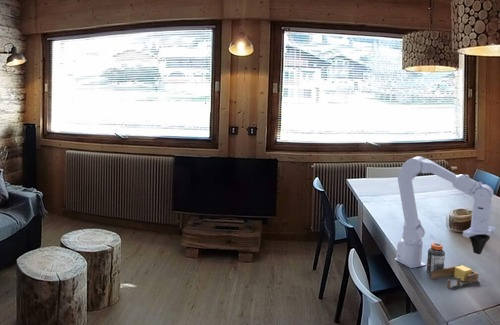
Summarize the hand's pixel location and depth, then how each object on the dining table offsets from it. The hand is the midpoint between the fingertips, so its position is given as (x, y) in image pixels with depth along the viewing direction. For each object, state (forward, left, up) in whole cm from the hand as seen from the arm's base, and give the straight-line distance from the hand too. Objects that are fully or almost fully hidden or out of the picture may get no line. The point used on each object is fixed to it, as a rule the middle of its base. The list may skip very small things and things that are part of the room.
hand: (477, 253), depth 143 cm
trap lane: (-3, -7, -10) cm, 13 cm away
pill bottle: (-10, -9, -11) cm, 17 cm away
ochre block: (-3, -3, -10) cm, 11 cm away
